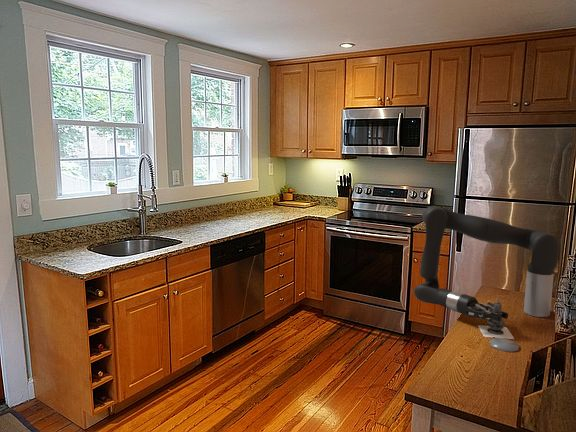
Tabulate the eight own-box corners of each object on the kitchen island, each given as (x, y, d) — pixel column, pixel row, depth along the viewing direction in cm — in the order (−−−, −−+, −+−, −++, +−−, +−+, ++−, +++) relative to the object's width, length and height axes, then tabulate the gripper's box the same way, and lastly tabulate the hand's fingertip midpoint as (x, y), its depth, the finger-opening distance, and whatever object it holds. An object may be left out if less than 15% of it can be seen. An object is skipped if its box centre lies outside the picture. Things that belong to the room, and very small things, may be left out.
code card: (477, 325, 164) (477, 325, 164) (506, 327, 162) (506, 327, 162) (484, 336, 155) (484, 336, 155) (514, 339, 153) (514, 338, 153)
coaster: (486, 338, 153) (486, 337, 153) (514, 340, 151) (514, 339, 151) (493, 350, 144) (493, 348, 144) (522, 352, 143) (522, 351, 142)
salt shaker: (506, 335, 155) (509, 303, 153) (488, 334, 156) (491, 302, 154) (501, 328, 161) (504, 297, 159) (484, 327, 162) (487, 296, 160)
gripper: (450, 297, 164) (494, 312, 150) (472, 290, 172) (515, 303, 158) (449, 316, 166) (492, 332, 152) (471, 308, 174) (514, 322, 160)
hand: (504, 317), depth 155 cm, fingers closed on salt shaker, 3 cm apart
